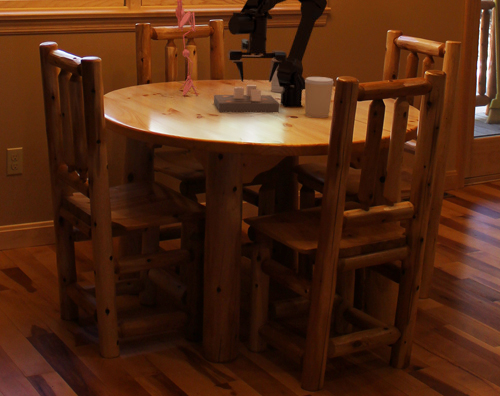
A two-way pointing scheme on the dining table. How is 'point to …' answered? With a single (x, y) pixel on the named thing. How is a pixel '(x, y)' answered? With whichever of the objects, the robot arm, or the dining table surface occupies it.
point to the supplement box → (275, 84)
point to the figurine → (182, 21)
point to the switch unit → (245, 104)
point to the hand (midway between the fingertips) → (256, 81)
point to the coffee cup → (318, 96)
